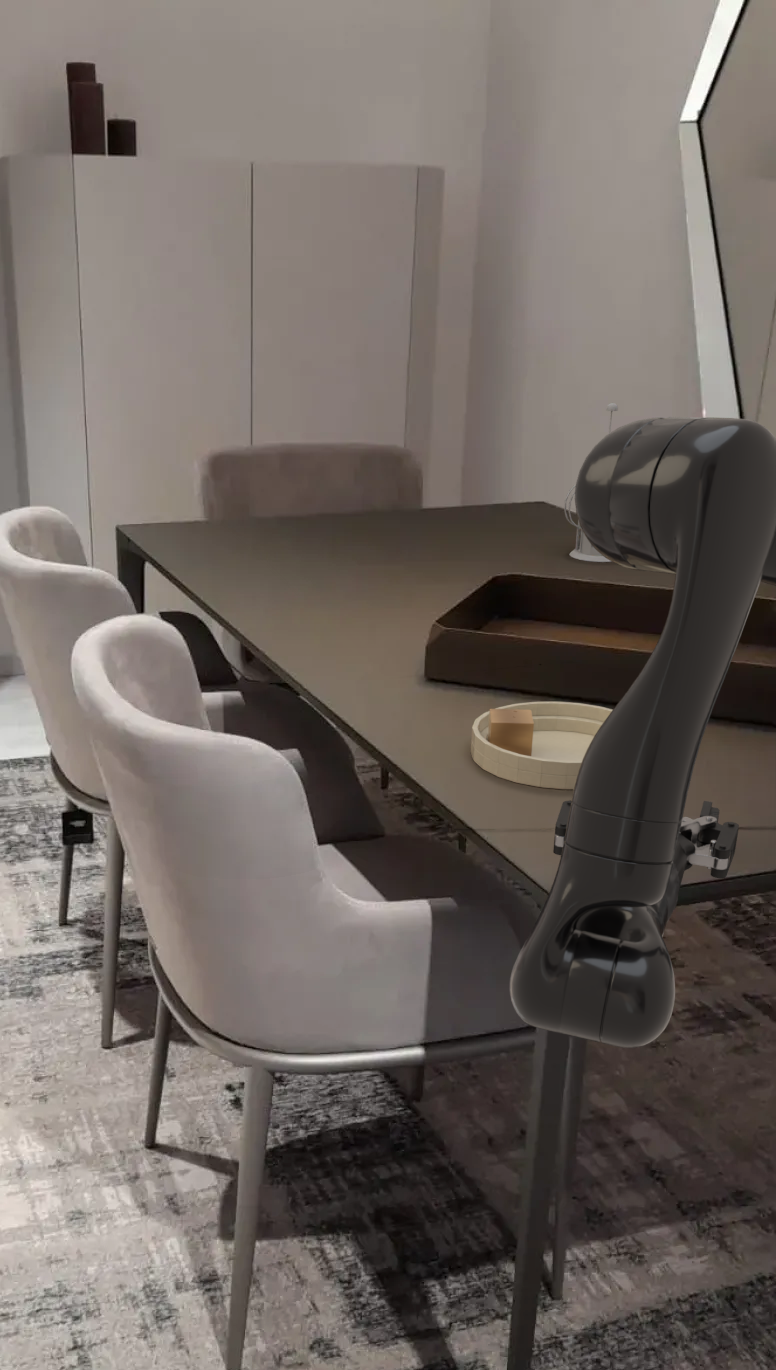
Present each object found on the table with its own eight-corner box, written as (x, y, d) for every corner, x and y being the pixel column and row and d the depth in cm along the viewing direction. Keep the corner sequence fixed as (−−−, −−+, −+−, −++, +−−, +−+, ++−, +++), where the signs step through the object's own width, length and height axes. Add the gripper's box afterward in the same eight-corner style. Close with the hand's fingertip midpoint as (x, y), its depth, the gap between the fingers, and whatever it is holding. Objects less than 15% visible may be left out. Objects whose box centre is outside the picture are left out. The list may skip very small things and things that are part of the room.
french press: (637, 559, 233) (654, 405, 222) (574, 564, 231) (588, 408, 220) (611, 547, 242) (625, 398, 231) (550, 551, 239) (562, 401, 228)
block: (528, 748, 152) (531, 709, 150) (530, 762, 148) (534, 723, 146) (487, 747, 152) (489, 708, 150) (488, 761, 148) (491, 722, 146)
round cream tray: (627, 729, 158) (630, 700, 157) (670, 793, 141) (674, 761, 140) (461, 731, 158) (462, 702, 157) (483, 794, 141) (485, 763, 140)
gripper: (732, 851, 100) (748, 774, 114) (538, 825, 105) (576, 753, 118) (718, 941, 104) (735, 856, 117) (531, 912, 108) (568, 833, 122)
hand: (655, 804), depth 118 cm, fingers open, 8 cm apart
